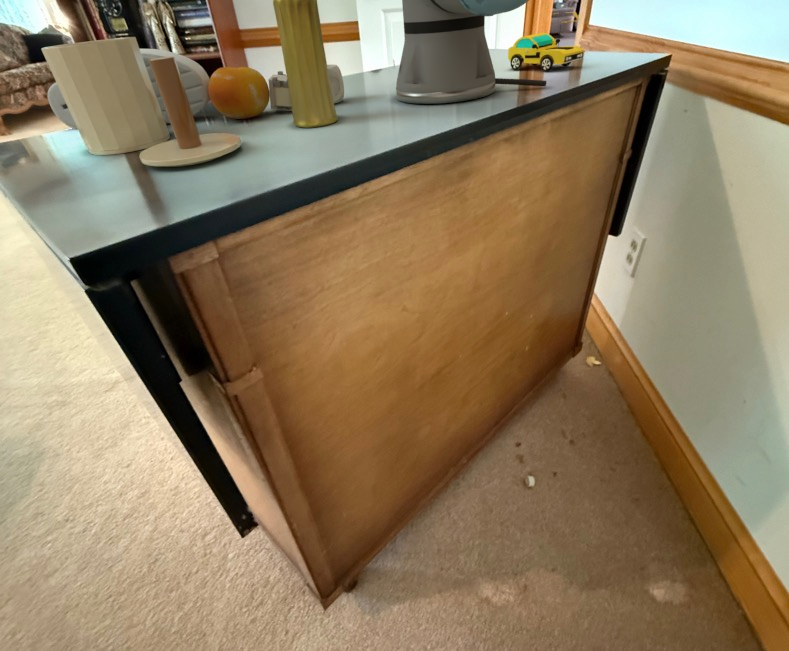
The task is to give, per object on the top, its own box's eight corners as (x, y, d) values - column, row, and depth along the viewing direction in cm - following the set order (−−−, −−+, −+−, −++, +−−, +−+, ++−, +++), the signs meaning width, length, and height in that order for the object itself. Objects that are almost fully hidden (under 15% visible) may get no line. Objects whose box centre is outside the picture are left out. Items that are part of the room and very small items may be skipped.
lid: (251, 139, 60) (227, 47, 54) (230, 165, 51) (198, 58, 45) (163, 148, 60) (130, 58, 54) (126, 176, 51) (81, 71, 45)
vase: (315, 116, 68) (294, -3, 60) (347, 118, 65) (329, -7, 57) (285, 126, 64) (258, 0, 56) (318, 129, 61) (294, -4, 53)
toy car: (503, 70, 87) (506, 17, 82) (529, 64, 90) (533, 12, 86) (559, 73, 79) (566, 14, 74) (585, 66, 83) (593, 9, 78)
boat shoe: (183, 44, 64) (218, 31, 72) (21, 66, 71) (69, 52, 79) (211, 122, 71) (241, 102, 78) (61, 135, 78) (101, 116, 85)
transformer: (291, 90, 87) (318, 93, 88) (270, 120, 72) (302, 123, 72) (289, 54, 84) (317, 57, 84) (266, 77, 68) (301, 81, 69)
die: (308, 102, 77) (302, 67, 74) (337, 97, 78) (333, 63, 75) (315, 106, 73) (309, 70, 70) (346, 101, 74) (341, 66, 71)
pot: (180, 130, 68) (148, 34, 61) (154, 150, 60) (112, 41, 53) (110, 138, 68) (70, 43, 61) (74, 158, 60) (22, 51, 53)
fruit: (281, 88, 67) (243, 38, 65) (235, 123, 66) (194, 72, 64) (277, 109, 75) (243, 65, 73) (235, 140, 74) (199, 95, 72)
